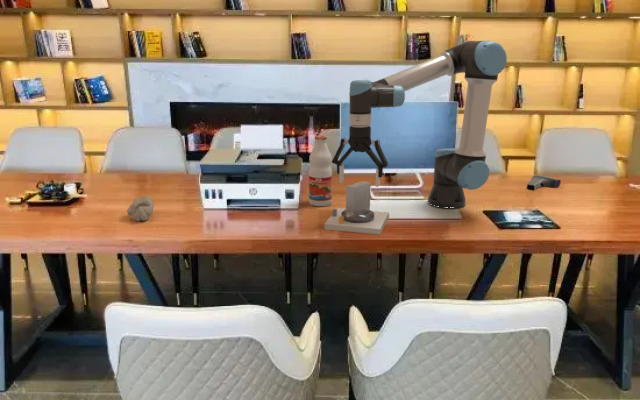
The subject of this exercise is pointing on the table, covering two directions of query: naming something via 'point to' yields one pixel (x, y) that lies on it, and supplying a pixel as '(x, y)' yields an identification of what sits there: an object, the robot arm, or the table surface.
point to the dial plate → (356, 223)
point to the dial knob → (358, 203)
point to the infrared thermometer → (542, 182)
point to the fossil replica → (141, 208)
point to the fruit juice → (320, 173)
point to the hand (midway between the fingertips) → (359, 184)
